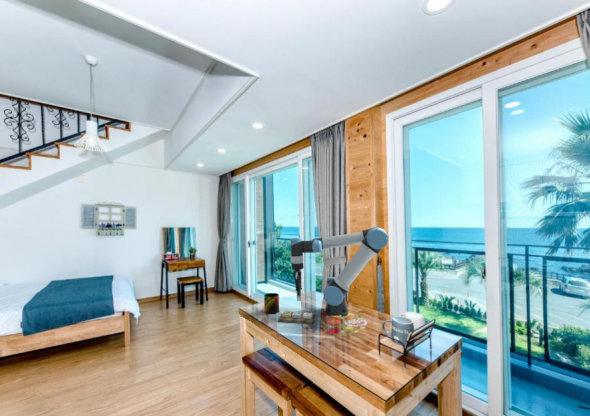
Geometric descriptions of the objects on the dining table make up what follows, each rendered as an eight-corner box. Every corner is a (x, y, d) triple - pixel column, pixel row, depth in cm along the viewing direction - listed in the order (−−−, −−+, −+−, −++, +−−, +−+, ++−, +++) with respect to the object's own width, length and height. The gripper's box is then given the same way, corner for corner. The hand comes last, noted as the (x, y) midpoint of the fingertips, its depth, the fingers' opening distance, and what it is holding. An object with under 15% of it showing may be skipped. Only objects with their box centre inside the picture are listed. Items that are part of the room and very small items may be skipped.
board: (314, 317, 166) (314, 312, 166) (311, 326, 152) (311, 321, 152) (284, 315, 170) (283, 311, 170) (278, 323, 156) (278, 319, 156)
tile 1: (291, 317, 164) (291, 311, 164) (289, 320, 159) (289, 314, 159) (283, 317, 165) (283, 311, 165) (281, 320, 160) (281, 314, 160)
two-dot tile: (301, 318, 163) (301, 312, 163) (300, 321, 158) (300, 315, 158) (293, 317, 164) (293, 311, 164) (292, 320, 159) (292, 314, 159)
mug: (273, 308, 184) (273, 290, 184) (281, 314, 171) (281, 295, 172) (260, 310, 179) (260, 292, 180) (267, 317, 167) (267, 298, 167)
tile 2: (312, 318, 162) (312, 312, 162) (311, 322, 157) (311, 315, 157) (304, 318, 163) (304, 312, 163) (302, 321, 158) (302, 315, 158)
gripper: (293, 261, 172) (295, 297, 171) (289, 264, 160) (291, 304, 159) (304, 260, 171) (306, 297, 170) (301, 264, 158) (303, 304, 157)
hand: (299, 300), depth 164 cm, fingers closed
